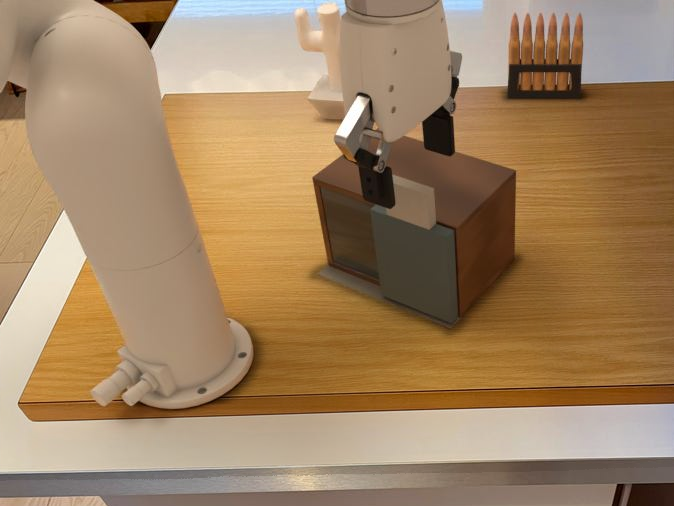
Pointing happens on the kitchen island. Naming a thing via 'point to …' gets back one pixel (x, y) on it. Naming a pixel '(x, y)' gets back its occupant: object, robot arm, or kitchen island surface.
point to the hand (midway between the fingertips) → (410, 176)
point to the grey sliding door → (415, 252)
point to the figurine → (328, 42)
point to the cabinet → (451, 212)
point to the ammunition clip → (545, 60)
